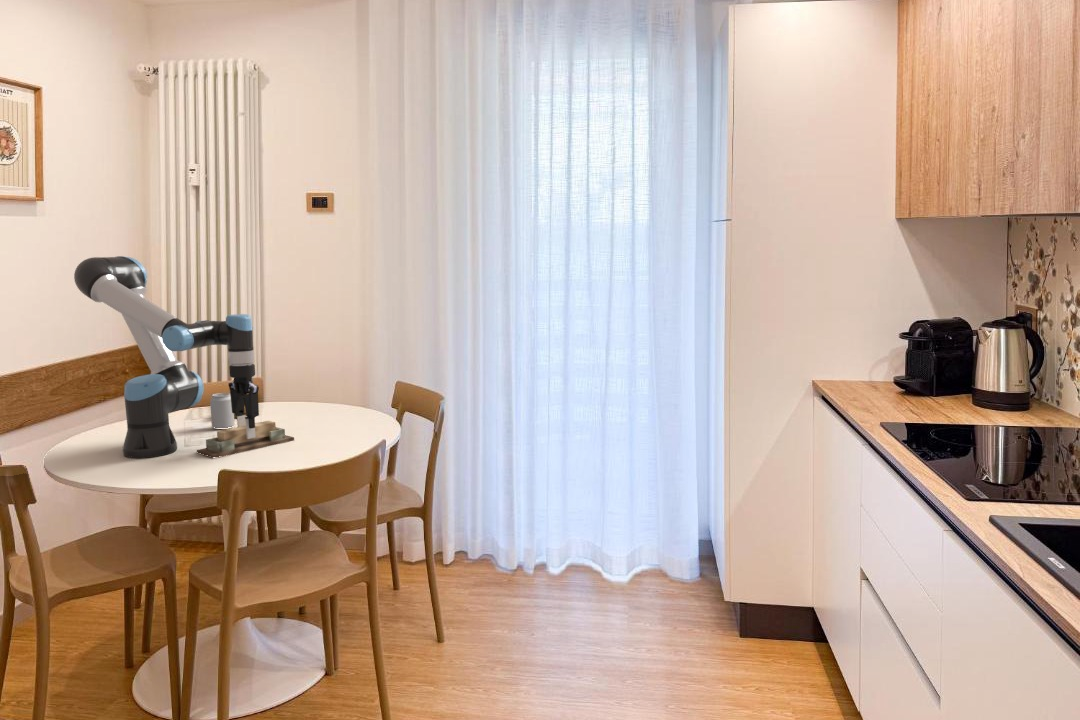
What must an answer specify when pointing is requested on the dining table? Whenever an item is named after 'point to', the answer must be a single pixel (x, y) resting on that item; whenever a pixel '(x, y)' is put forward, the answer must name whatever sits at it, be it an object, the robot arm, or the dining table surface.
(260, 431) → the slat
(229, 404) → the can
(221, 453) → the cradle
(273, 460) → the dining table surface
